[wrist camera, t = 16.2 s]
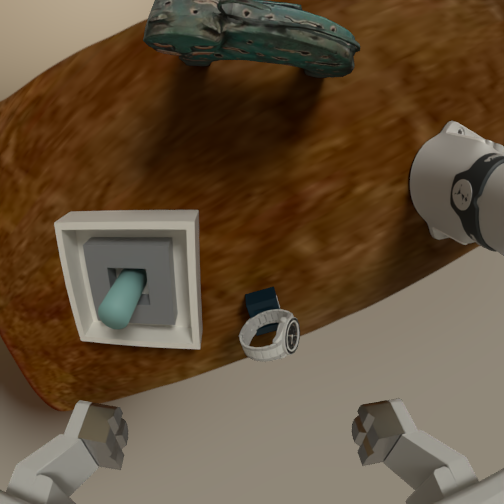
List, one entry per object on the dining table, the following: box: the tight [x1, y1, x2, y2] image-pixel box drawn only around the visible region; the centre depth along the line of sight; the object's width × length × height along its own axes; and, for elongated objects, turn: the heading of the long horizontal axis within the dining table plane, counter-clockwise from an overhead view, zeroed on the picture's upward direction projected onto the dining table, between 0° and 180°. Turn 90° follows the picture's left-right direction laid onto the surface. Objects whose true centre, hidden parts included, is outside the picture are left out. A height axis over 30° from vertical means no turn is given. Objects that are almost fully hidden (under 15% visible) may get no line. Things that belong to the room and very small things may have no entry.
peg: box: [98, 268, 147, 330], centre depth 39 cm, size 4×4×10 cm
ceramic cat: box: [143, 0, 360, 78], centre depth 25 cm, size 20×6×20 cm, turn 83°
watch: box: [239, 287, 300, 361], centre depth 43 cm, size 6×8×11 cm
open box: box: [54, 210, 202, 349], centre depth 42 cm, size 19×19×5 cm
